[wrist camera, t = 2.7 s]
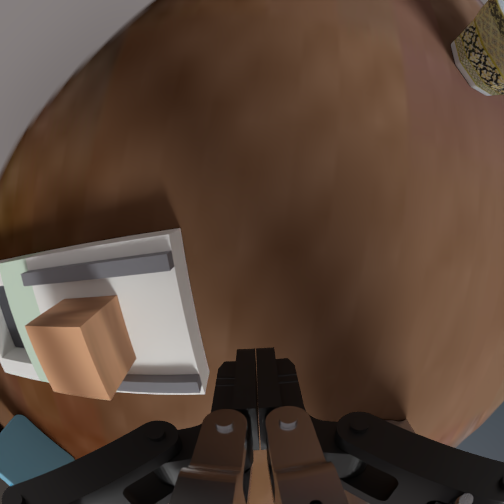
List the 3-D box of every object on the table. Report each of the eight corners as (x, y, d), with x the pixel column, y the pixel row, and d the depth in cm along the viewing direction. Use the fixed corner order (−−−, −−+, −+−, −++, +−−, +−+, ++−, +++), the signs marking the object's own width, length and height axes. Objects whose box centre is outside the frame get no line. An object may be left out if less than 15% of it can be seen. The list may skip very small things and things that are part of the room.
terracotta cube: (117, 294, 17) (80, 327, 12) (136, 358, 18) (110, 400, 13) (64, 298, 17) (24, 325, 12) (84, 356, 18) (54, 391, 13)
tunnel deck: (180, 227, 19) (163, 236, 15) (209, 371, 22) (203, 402, 18) (-14, 263, 19) (-38, 272, 15) (18, 360, 22) (0, 376, 18)
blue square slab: (16, 418, 25) (-18, 460, 13) (19, 410, 24) (-19, 455, 12) (72, 466, 26) (47, 514, 15) (79, 461, 26) (53, 514, 14)
